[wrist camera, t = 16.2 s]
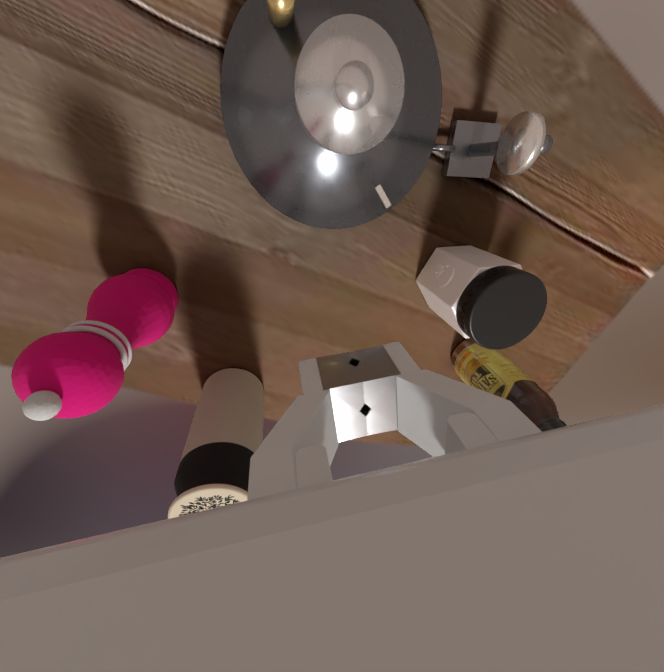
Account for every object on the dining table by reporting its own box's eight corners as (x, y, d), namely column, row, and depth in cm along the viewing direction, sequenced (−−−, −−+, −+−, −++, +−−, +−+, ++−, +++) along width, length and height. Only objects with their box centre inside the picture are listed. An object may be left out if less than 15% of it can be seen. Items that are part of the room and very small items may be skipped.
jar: (445, 229, 38) (511, 252, 28) (492, 259, 41) (567, 290, 31) (404, 293, 41) (449, 336, 31) (450, 317, 44) (506, 364, 34)
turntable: (463, 147, 34) (491, 144, 29) (311, 262, 37) (317, 274, 32) (364, -103, 24) (385, -162, 20) (172, 77, 27) (153, 60, 23)
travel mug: (205, 363, 41) (166, 484, 25) (268, 370, 43) (267, 487, 27) (200, 411, 44) (162, 545, 28) (258, 416, 46) (253, 543, 31)
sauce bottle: (449, 339, 46) (559, 444, 28) (490, 332, 46) (621, 429, 29) (446, 376, 49) (544, 491, 32) (485, 369, 50) (600, 477, 32)
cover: (344, 176, 31) (354, 178, 27) (270, 96, 27) (271, 85, 24) (411, 96, 29) (433, 85, 25) (342, -3, 25) (355, -34, 21)
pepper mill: (97, 274, 34) (-85, 385, 16) (164, 254, 34) (53, 345, 17) (134, 331, 37) (16, 474, 20) (194, 313, 38) (129, 439, 20)
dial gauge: (421, 174, 35) (483, 177, 25) (429, 119, 33) (502, 97, 22) (482, 177, 36) (565, 181, 26) (494, 125, 34) (592, 106, 24)
